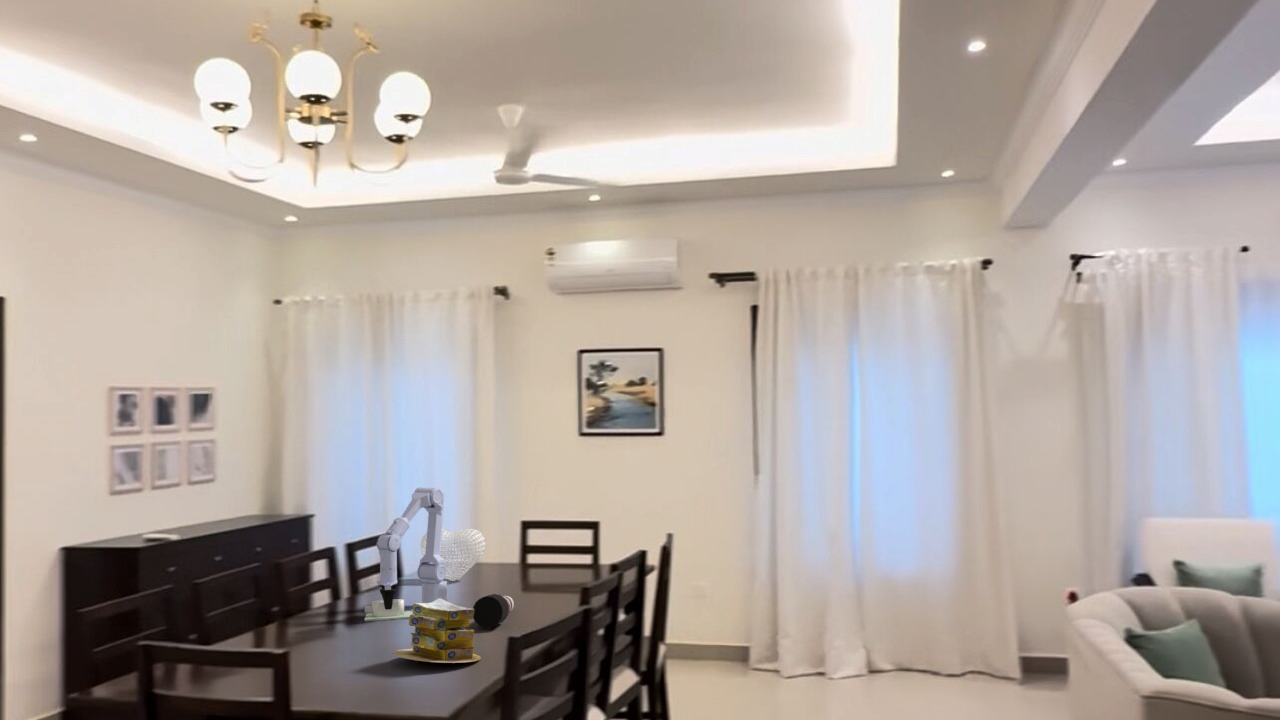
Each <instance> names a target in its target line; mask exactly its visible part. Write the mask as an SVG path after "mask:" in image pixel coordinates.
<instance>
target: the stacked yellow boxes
mask: <svg viewBox="0 0 1280 720" xmlns="http://www.w3.org/2000/svg"><path fill="white" fill-rule="evenodd" d="M473 616H474V609H473V607H472V608H471V607H467V606H466V607H465V606H461V605H458V604H457V605H456V604H454V603H452V602H450V601H447V602H446V600H443V599H441V598H438V599H437V600H435V601H433V602H428V603H422V602H414V604H413V607H412V615H410V618H409V619H408V621H409V622H408V625H409V626H411V627H414V632H410V634H411V644H410V645H411V646H412V648H404V649H397V650H395V651H393V652H392V654H393V655H394V656H395V657H399V658H401V659H406V660H413V661H415V663H416V664H418V662H419V661H420V662H428V663H429V662H430V663H442V664H443V663H444V664H445V663H446V664H447V663H449V664H450V663H452V664H455V663H461V664H462V663H473V662H477V661H480V660H481V659H482V657H481V656H480V655H478V654H475V653H474V640H475V639H474V637H475V636H474V635H475V629H471V628H469V627H470V623H471V620H474V619H473Z"/></svg>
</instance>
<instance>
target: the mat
mask: <svg viewBox="0 0 1280 720" xmlns="http://www.w3.org/2000/svg"><path fill="white" fill-rule="evenodd" d="M410 615H413V610H407V611H405V610H404V615H400V616H385V617H372V613H365V617H364V622H373V621H374V622H375V621H390V620H391V619H393V620H405V619H406V620H407V619H408V620H409V619H410ZM391 621H392V620H391Z"/></svg>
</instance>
